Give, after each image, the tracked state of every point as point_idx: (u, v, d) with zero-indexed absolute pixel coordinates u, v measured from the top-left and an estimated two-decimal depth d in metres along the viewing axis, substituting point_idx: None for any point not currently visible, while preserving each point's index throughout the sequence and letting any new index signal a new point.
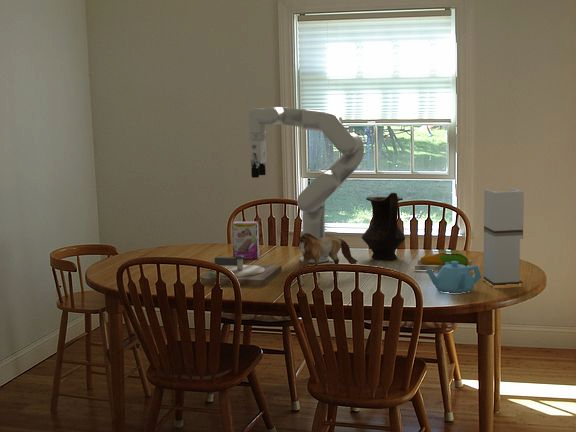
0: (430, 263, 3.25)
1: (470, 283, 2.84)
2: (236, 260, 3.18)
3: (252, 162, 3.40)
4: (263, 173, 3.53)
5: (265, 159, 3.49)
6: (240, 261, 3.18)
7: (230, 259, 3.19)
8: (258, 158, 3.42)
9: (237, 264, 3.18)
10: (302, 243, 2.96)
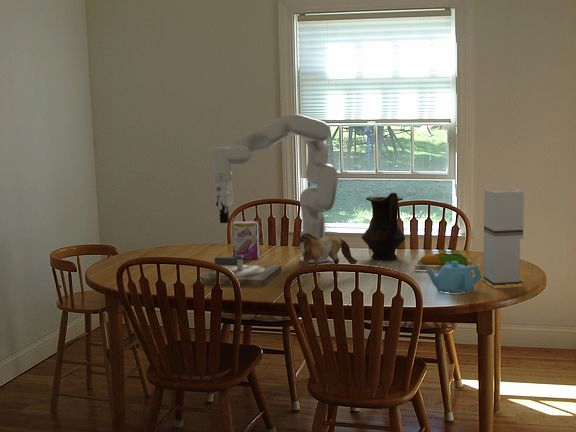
0: (430, 263, 3.26)
1: (470, 283, 2.84)
2: (236, 260, 3.18)
3: (220, 210, 3.20)
4: None
5: (231, 201, 3.24)
6: (240, 261, 3.18)
7: (230, 259, 3.19)
8: (223, 201, 3.18)
9: (237, 264, 3.18)
10: (302, 243, 2.96)
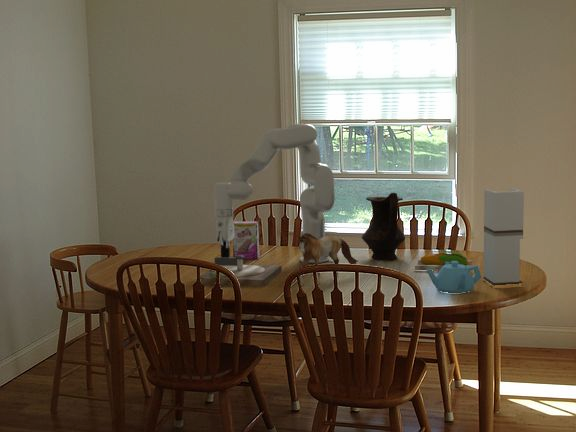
0: (430, 263, 3.26)
1: (470, 283, 2.84)
2: (236, 260, 3.18)
3: (221, 245, 3.22)
4: None
5: (232, 236, 3.27)
6: (240, 261, 3.18)
7: (230, 259, 3.19)
8: (224, 237, 3.20)
9: (237, 264, 3.18)
10: (302, 243, 2.96)
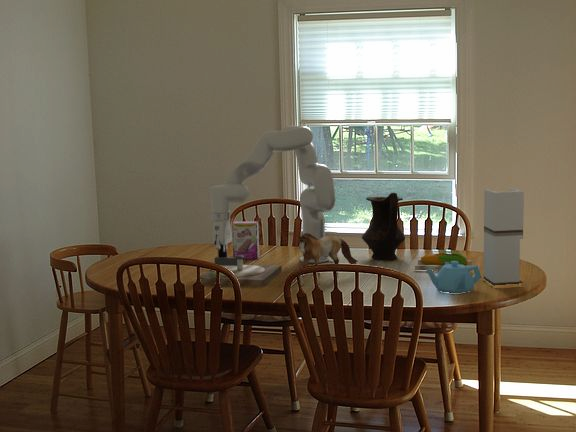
0: (429, 263, 3.26)
1: (470, 283, 2.84)
2: (236, 260, 3.18)
3: (218, 249, 3.19)
4: None
5: (229, 240, 3.23)
6: (240, 261, 3.18)
7: (230, 259, 3.19)
8: (221, 240, 3.17)
9: (237, 264, 3.18)
10: (302, 243, 2.96)
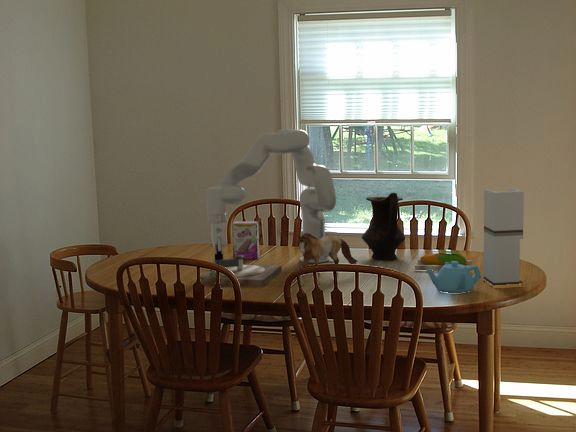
0: (429, 263, 3.26)
1: (470, 283, 2.84)
2: (238, 260, 3.17)
3: (219, 251, 3.14)
4: None
5: None
6: (242, 261, 3.18)
7: (231, 260, 3.17)
8: (223, 242, 3.12)
9: (239, 264, 3.18)
10: (302, 243, 2.96)
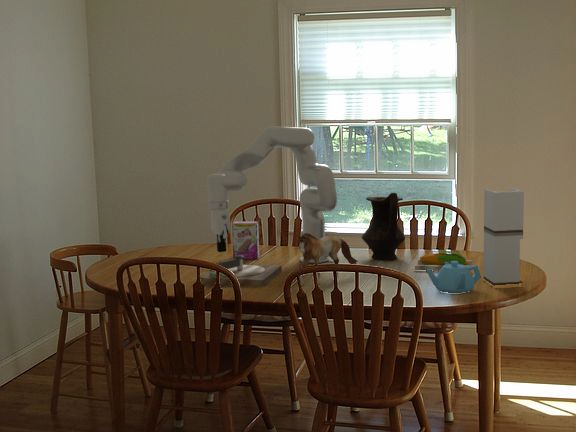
0: (428, 263, 3.26)
1: (470, 283, 2.84)
2: (239, 260, 3.17)
3: (224, 238, 3.10)
4: None
5: None
6: (242, 260, 3.19)
7: (234, 261, 3.16)
8: (229, 229, 3.10)
9: (240, 264, 3.18)
10: (302, 243, 2.96)
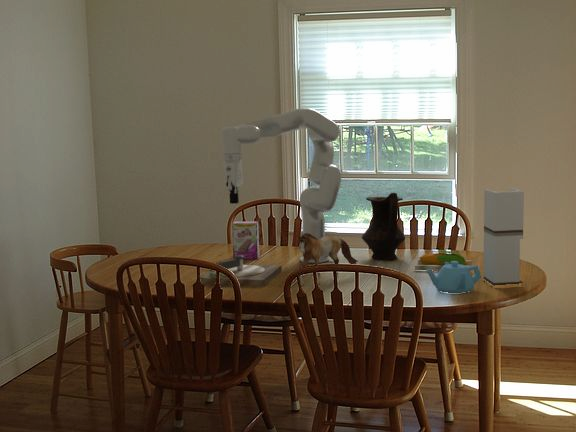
0: (428, 263, 3.26)
1: (470, 283, 2.84)
2: (239, 260, 3.17)
3: (230, 190, 3.19)
4: None
5: (241, 182, 3.24)
6: (242, 260, 3.19)
7: (234, 261, 3.16)
8: (233, 181, 3.17)
9: (240, 264, 3.18)
10: (302, 243, 2.96)
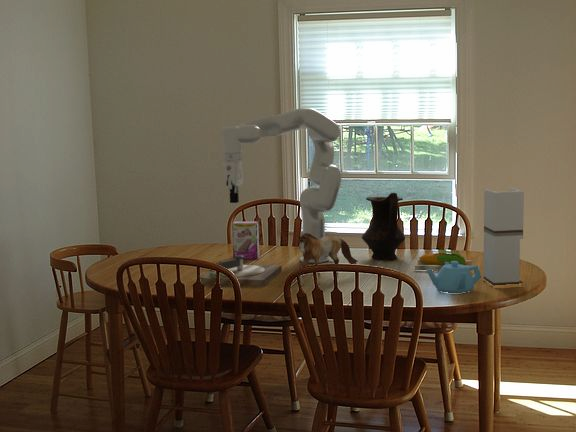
0: (428, 262, 3.26)
1: (470, 283, 2.84)
2: (239, 260, 3.17)
3: (230, 189, 3.19)
4: None
5: (241, 181, 3.24)
6: (242, 260, 3.19)
7: (234, 261, 3.16)
8: (233, 180, 3.17)
9: (240, 264, 3.18)
10: (302, 243, 2.96)
